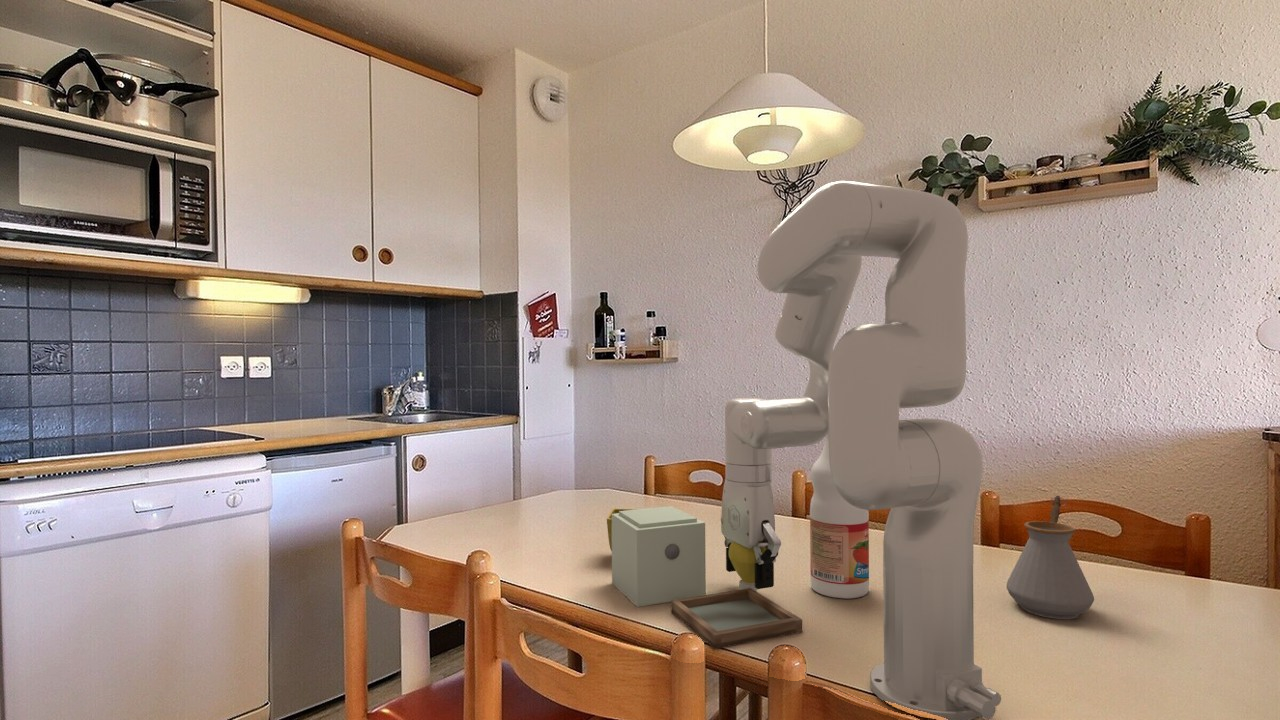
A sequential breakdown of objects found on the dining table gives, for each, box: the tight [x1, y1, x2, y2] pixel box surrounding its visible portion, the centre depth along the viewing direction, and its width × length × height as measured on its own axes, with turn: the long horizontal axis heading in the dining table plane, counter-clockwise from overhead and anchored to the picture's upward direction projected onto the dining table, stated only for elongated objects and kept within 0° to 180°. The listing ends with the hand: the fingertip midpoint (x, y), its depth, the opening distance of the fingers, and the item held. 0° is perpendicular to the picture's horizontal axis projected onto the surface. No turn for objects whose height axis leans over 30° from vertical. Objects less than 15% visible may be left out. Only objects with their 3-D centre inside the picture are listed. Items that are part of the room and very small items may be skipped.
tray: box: [670, 588, 803, 650], centre depth 98 cm, size 14×14×2 cm
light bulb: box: [729, 541, 766, 592], centre depth 109 cm, size 7×7×10 cm
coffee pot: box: [1006, 495, 1095, 620], centre depth 106 cm, size 21×12×15 cm, turn 143°
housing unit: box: [611, 505, 707, 608], centre depth 112 cm, size 13×12×13 cm
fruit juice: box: [809, 431, 870, 599], centre depth 111 cm, size 9×9×28 cm
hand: (749, 578), depth 109 cm, fingers open, 8 cm apart
